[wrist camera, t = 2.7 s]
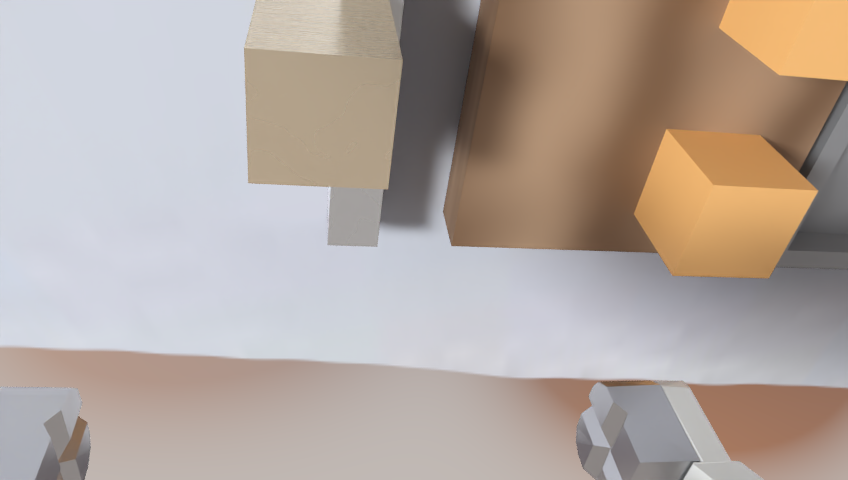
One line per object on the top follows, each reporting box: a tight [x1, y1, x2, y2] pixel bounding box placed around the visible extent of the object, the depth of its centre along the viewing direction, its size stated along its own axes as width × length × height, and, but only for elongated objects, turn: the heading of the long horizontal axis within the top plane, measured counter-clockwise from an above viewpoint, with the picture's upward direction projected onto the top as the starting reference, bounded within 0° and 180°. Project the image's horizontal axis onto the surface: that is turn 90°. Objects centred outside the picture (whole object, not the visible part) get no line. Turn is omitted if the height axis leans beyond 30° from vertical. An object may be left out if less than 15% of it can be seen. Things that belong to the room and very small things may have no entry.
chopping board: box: [443, 0, 847, 253], centre depth 26 cm, size 14×16×2 cm
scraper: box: [244, 0, 404, 247], centre depth 22 cm, size 4×16×8 cm, turn 173°
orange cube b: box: [634, 129, 818, 278], centre depth 26 cm, size 4×4×4 cm
